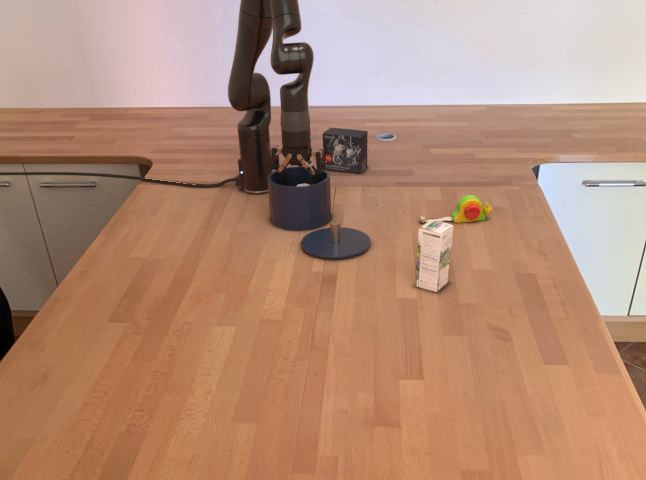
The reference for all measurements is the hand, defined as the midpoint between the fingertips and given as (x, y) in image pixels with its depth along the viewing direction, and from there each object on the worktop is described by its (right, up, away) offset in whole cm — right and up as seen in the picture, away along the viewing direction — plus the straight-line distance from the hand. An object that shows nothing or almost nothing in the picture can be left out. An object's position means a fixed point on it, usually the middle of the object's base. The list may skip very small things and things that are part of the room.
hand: (298, 186), depth 190 cm
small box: (+13, +14, +38) cm, 43 cm away
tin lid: (+10, -17, -11) cm, 22 cm away
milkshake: (+3, -7, +4) cm, 9 cm away
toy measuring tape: (+42, -9, +1) cm, 43 cm away
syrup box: (+32, -29, -30) cm, 52 cm away
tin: (0, -8, +5) cm, 9 cm away
